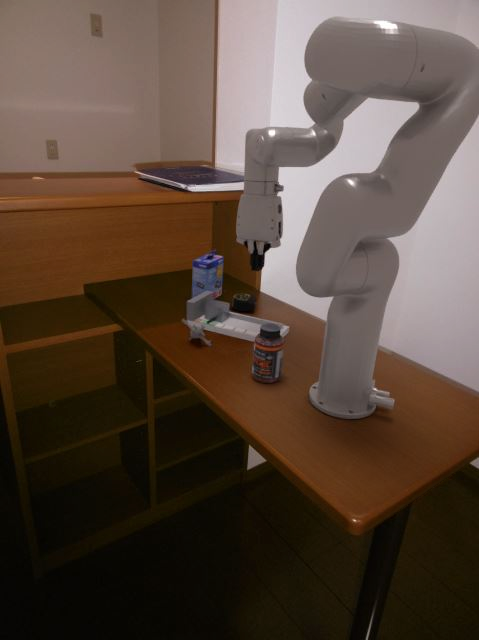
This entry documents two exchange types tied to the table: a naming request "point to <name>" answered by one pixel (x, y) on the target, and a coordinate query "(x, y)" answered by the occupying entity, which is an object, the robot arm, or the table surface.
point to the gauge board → (227, 320)
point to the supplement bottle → (268, 354)
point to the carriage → (216, 311)
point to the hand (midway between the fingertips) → (256, 269)
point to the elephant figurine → (196, 332)
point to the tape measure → (244, 302)
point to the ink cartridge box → (207, 274)
